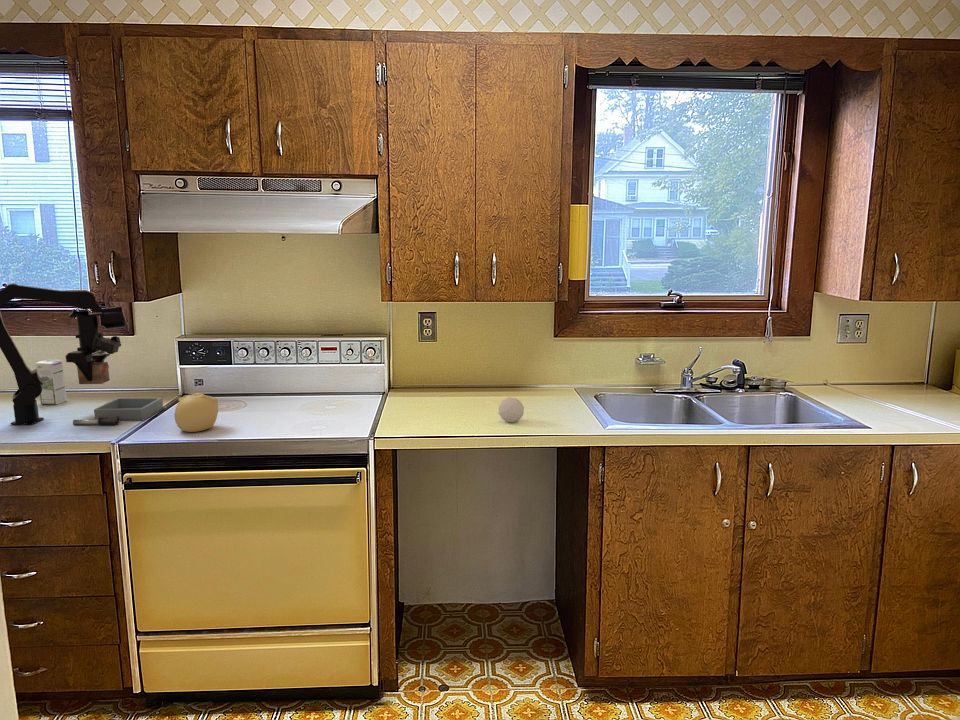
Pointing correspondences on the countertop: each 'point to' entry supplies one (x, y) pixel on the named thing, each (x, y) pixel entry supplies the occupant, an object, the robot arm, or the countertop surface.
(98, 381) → the block
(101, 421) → the pin gauge
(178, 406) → the sculpture
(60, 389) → the syrup box
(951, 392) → the countertop surface
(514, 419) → the ball
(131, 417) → the tray
